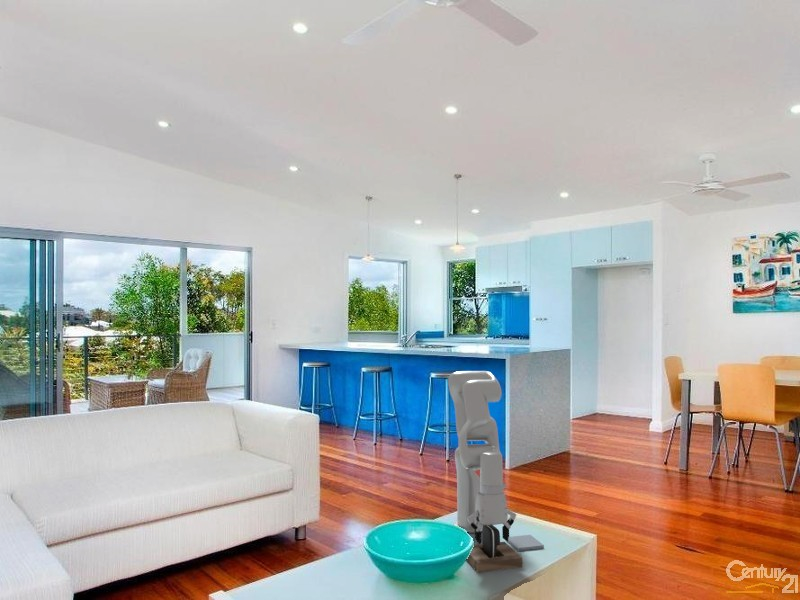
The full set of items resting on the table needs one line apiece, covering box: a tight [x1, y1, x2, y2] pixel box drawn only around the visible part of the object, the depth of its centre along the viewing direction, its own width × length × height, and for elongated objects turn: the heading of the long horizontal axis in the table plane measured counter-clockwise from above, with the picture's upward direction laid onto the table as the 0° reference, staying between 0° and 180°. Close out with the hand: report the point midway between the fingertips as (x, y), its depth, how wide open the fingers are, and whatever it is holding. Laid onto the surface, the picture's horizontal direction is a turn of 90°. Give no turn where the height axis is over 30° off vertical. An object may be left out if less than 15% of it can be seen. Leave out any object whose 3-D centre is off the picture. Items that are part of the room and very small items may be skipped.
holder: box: [466, 541, 523, 573], centre depth 189 cm, size 14×16×3 cm
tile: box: [506, 534, 545, 552], centre depth 203 cm, size 10×10×1 cm
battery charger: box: [481, 525, 501, 558], centre depth 190 cm, size 7×4×11 cm, turn 17°
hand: (492, 541), depth 189 cm, fingers open, 9 cm apart
